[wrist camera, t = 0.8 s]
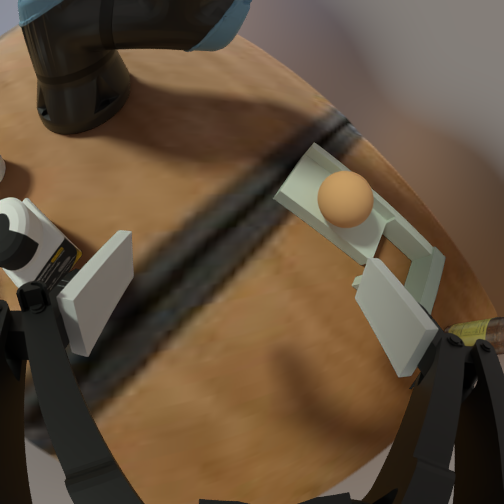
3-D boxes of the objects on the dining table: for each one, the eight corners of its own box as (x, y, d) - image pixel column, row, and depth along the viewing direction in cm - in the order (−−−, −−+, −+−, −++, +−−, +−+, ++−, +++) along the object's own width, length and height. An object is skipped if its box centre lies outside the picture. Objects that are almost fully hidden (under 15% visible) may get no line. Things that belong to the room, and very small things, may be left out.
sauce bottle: (458, 349, 42) (545, 343, 24) (441, 363, 40) (535, 362, 22) (453, 318, 43) (542, 304, 25) (436, 330, 41) (534, 319, 23)
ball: (303, 184, 37) (329, 157, 30) (346, 186, 39) (375, 163, 32) (313, 236, 35) (344, 217, 29) (357, 233, 37) (391, 217, 31)
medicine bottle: (49, 301, 27) (-3, 288, 16) (15, 262, 26) (-38, 235, 15) (84, 253, 29) (45, 219, 18) (48, 218, 29) (6, 173, 18)
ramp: (259, 218, 36) (273, 203, 32) (300, 158, 41) (315, 140, 36) (403, 326, 39) (427, 325, 34) (424, 263, 43) (445, 257, 39)
